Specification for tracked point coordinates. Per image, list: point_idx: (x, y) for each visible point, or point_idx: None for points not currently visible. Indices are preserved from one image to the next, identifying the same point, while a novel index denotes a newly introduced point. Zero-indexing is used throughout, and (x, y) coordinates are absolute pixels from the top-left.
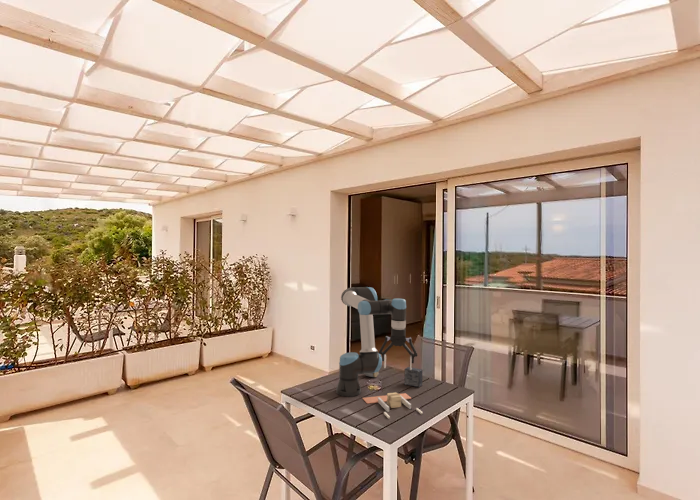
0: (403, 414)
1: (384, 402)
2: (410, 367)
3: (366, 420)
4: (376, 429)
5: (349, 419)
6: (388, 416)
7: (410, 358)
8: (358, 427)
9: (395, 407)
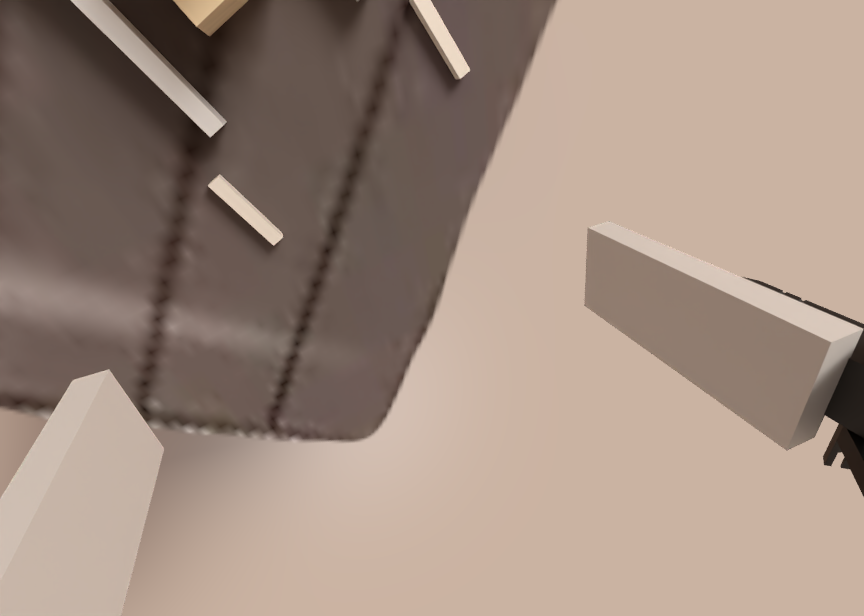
0: (343, 129)
1: (128, 31)
2: (619, 322)
3: (154, 325)
4: (269, 384)
5: (36, 367)
6: (273, 241)
7: (770, 431)
8: (166, 414)
9: (238, 9)
